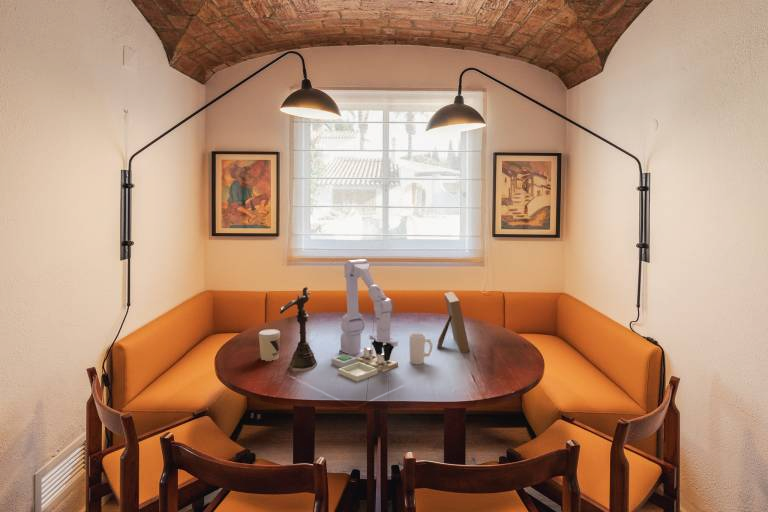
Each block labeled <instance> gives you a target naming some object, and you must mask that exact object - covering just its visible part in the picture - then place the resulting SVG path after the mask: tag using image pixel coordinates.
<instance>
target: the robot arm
mask: <svg viewBox="0 0 768 512" xmlns="http://www.w3.org/2000/svg"><path fill="white" fill-rule="evenodd" d="M370 267H371V266H370V264H369V262H368V260H367V259H365V258H364V259H353V260H351V259H349V260H346V261H345V263H344V264H343V268H344V269H343V271H344V274H343V275H344V278H345V284H346V285H345V286H346V288H345V289H346V306H347V307H346V309H347V312H346V313H345V314H344V315H343V316H342V317H341V319H342V320H341V326H340V327H341V328H340V329H341V331H342V334H341V335H340V348H339V351H340V352H342V353H344V354H347V355H351V356H352V355H356V354H359V353H362V352H364V349H362V345H361V344H362V342H361V341H362V340H361V339H362V338H361V337H362V335H361V334H362V333H363V331H364V330H365V325H366V324H365V321H364V316H363V314H361V313H360V311H359V287H358V286H359V285H358V279H359V278H361V280H362V281H363V283H364V284H365V286H366V287H367V288H368V291H367V294H368V295H369V297H370V300H371V301H372V303H373V310H374V312H375V314H374V315H375V318H376V334H375V333H370V334H369V339H370V340H373V341H371V345H372V346H373V347H372V348H373V350H374V351H375V355H377V354H378V353H381V352H382V353H384V358H385V361H388V360H391V359H390V358H391V354H392V352H393V349H394V348H395V347H398V342H399V341H398V340H396V339H393V338H392V337H391V313H392V312H393V311H394V304H393V300H392V299H391V298H389V297H388V296H386V294H385V293H384V291H383V289H382V288H381V286H380V285H378V284H376V283H375V281H374V277H373V276H372V274H371V272H370V269H371V268H370Z"/></svg>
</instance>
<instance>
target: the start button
mask: <svg viewBox="0 0 768 512" xmlns="http://www.w3.org/2000/svg"><path fill="white" fill-rule="evenodd" d="M349 356H350V355H349ZM349 356H341V357H339V360H341V361H346V360H349Z"/></svg>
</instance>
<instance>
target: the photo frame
mask: <svg viewBox="0 0 768 512" xmlns="http://www.w3.org/2000/svg"><path fill="white" fill-rule="evenodd" d="M444 298H445V303H446V308H447V312H448V319H447V321H446V323H445V326H444V327H443V329H442V331H441V334H440V336H439V338H438V341H437V346H436V349H440V348H441V347H443V344H444V341H445V339H446V335H447V332H448V329H449V326H450V327H451V331H452V336H453V339H454V341H455V344H456V345H457V348H458V350H459V353H466V352H470V345H469V342H468V341H469V340H468V337H467V331H466V327H465V322H464V318H463V317H464V316H463V312H462V307H461V303H460V300H459V298H458V297H457V295H456V294H455V293H454V291H449V292H444Z"/></svg>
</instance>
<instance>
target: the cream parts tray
mask: <svg viewBox="0 0 768 512" xmlns="http://www.w3.org/2000/svg"><path fill="white" fill-rule="evenodd" d="M354 357H355V358H357V362H361V363H364V364H366V365H369V366H372V367H374V368H377V369H378V371H380V372H382V373H384V372H386V371H389V370H391V369H394V368H396V367H398V366H399V362H398V361H394V360H391V359H389V360H388V361H387V365H385V366H382V365H379V364H377V355H376V353H375V354H374V353H373V359H371V360H365V359H364V353H363V354H359V355H355V356H354Z"/></svg>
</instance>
